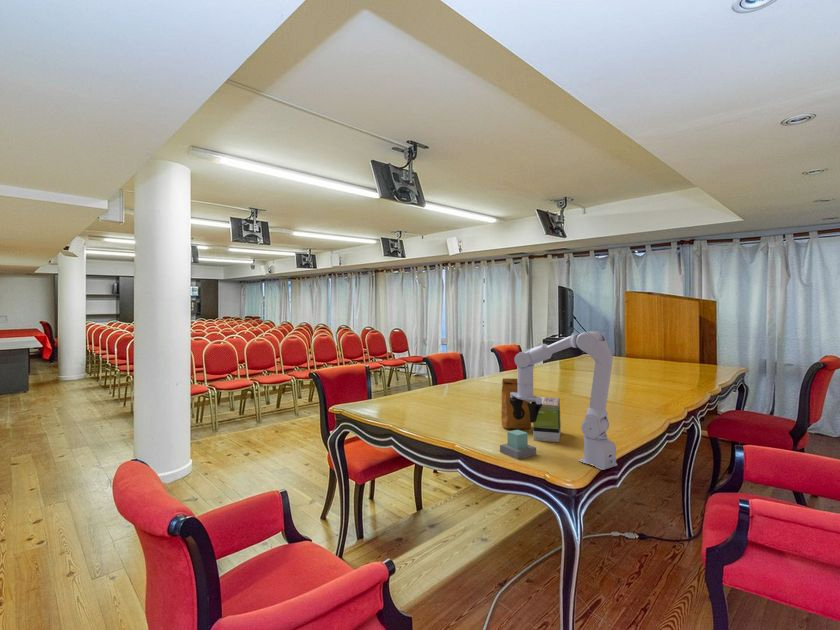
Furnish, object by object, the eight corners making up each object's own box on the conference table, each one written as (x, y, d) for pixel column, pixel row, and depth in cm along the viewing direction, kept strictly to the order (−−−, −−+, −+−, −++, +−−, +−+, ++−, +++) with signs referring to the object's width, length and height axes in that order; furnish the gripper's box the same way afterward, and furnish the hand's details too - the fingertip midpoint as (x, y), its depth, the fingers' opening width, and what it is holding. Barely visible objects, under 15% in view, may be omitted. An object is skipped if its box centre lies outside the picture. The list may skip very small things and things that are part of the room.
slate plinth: (536, 454, 146) (536, 447, 146) (517, 459, 142) (517, 451, 142) (518, 447, 154) (518, 440, 154) (500, 451, 149) (499, 444, 149)
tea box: (536, 430, 177) (536, 395, 177) (561, 432, 173) (560, 397, 173) (532, 440, 163) (532, 403, 163) (559, 442, 159) (559, 404, 159)
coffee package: (533, 430, 176) (532, 379, 176) (504, 430, 176) (503, 379, 176) (527, 424, 186) (527, 376, 186) (500, 424, 186) (499, 376, 186)
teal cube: (527, 446, 147) (527, 432, 147) (517, 449, 144) (517, 435, 144) (517, 443, 151) (517, 429, 151) (507, 445, 149) (507, 431, 149)
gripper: (504, 382, 158) (504, 417, 158) (531, 387, 146) (532, 425, 146) (517, 380, 162) (517, 414, 162) (545, 385, 149) (546, 423, 149)
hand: (525, 419), depth 154 cm, fingers open, 7 cm apart
